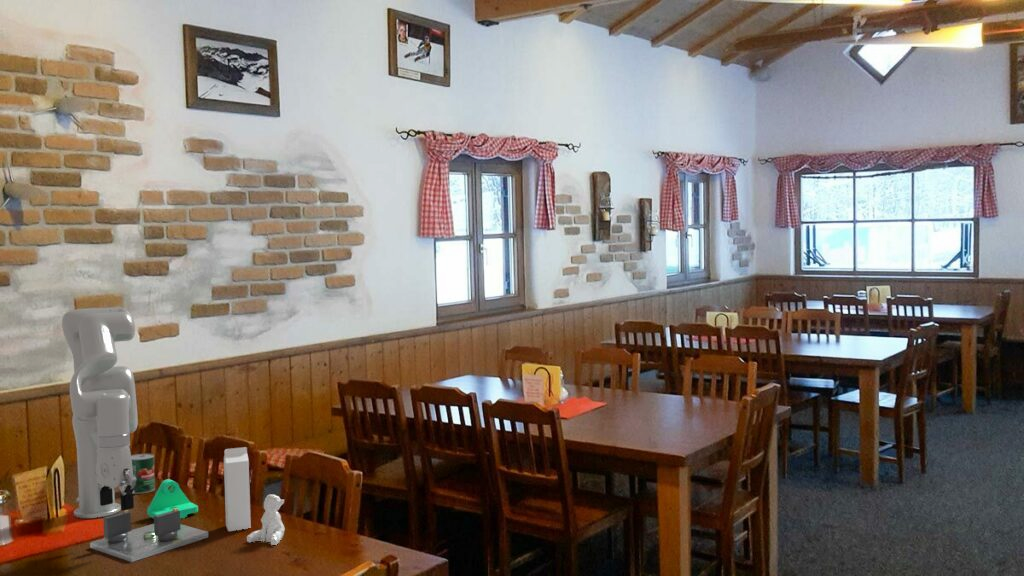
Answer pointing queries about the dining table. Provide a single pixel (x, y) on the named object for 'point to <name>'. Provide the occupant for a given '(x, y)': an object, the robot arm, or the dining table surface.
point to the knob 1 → (117, 526)
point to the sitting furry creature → (270, 522)
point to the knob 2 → (167, 525)
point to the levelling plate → (147, 543)
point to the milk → (237, 489)
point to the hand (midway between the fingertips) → (116, 507)
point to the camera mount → (170, 500)
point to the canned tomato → (143, 473)
